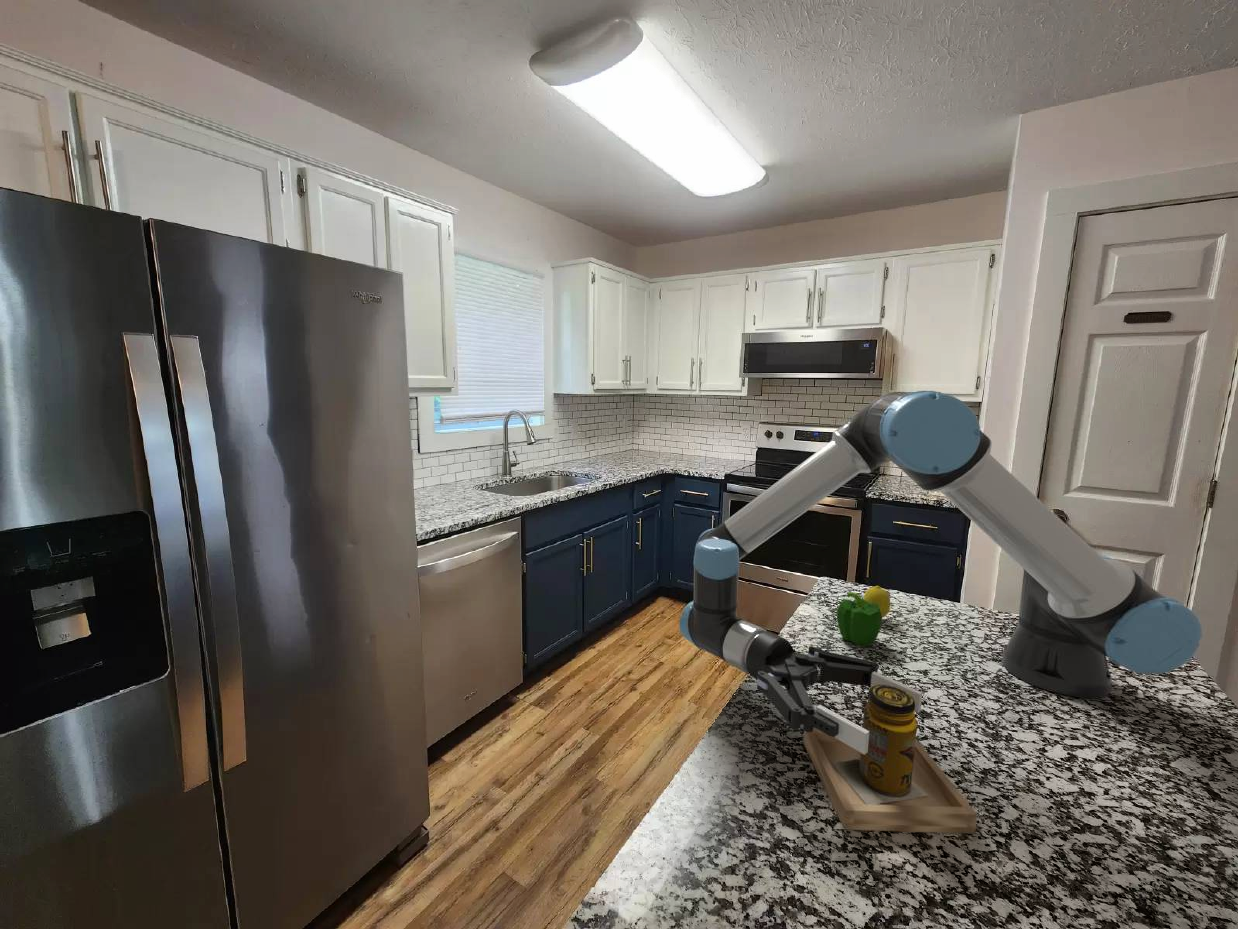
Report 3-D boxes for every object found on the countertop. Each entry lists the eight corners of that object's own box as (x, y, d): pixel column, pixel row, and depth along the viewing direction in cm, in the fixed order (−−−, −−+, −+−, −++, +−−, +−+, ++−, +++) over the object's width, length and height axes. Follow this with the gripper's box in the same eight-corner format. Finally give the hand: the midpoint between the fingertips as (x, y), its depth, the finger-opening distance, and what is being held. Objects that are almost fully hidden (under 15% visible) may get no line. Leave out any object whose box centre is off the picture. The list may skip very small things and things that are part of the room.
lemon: (892, 626, 113) (895, 591, 112) (865, 624, 114) (867, 589, 113) (884, 615, 118) (887, 582, 117) (858, 613, 119) (861, 580, 118)
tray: (907, 746, 75) (909, 730, 74) (975, 833, 60) (977, 814, 59) (803, 743, 75) (804, 727, 75) (844, 829, 60) (845, 810, 60)
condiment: (927, 796, 64) (936, 708, 63) (867, 807, 63) (874, 716, 61) (886, 756, 71) (893, 675, 70) (831, 765, 70) (837, 682, 68)
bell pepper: (888, 643, 105) (892, 596, 104) (865, 654, 101) (869, 605, 99) (851, 627, 112) (854, 583, 111) (827, 637, 108) (830, 591, 106)
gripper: (804, 652, 90) (936, 713, 73) (702, 702, 75) (838, 793, 58) (806, 611, 89) (941, 663, 72) (704, 654, 74) (842, 732, 57)
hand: (895, 722), depth 65 cm, fingers open, 13 cm apart
